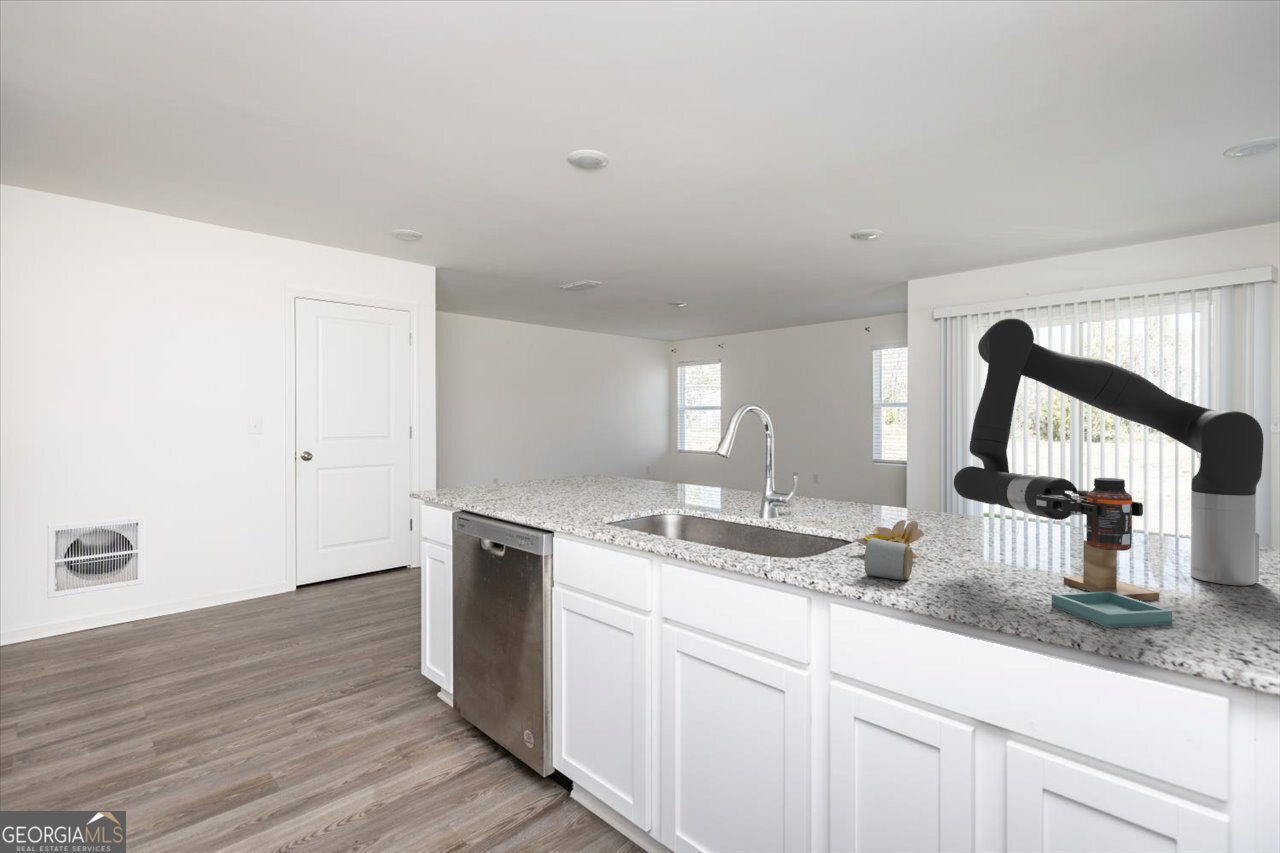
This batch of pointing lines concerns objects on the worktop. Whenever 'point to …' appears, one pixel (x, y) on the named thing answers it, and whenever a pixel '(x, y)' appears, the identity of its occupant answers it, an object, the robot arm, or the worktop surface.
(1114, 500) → the supplement bottle
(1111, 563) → the wooden stand
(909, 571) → the ceramic mug
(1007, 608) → the worktop surface
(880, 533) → the decorative flower
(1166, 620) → the tray
